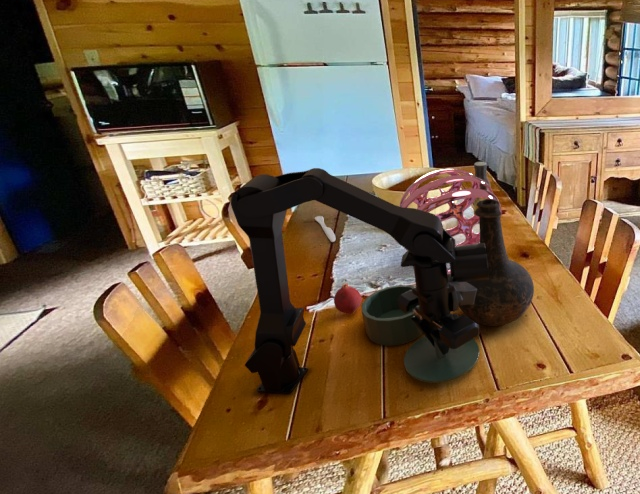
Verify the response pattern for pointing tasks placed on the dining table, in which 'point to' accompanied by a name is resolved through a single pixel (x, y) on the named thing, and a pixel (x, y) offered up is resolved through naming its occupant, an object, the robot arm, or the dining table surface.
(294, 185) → the robot arm
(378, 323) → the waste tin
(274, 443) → the dining table surface
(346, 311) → the onion
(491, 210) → the glass bottle
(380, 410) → the dining table surface
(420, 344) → the tin lid
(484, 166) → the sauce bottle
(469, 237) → the pink openwork sphere
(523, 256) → the dining table surface
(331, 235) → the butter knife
